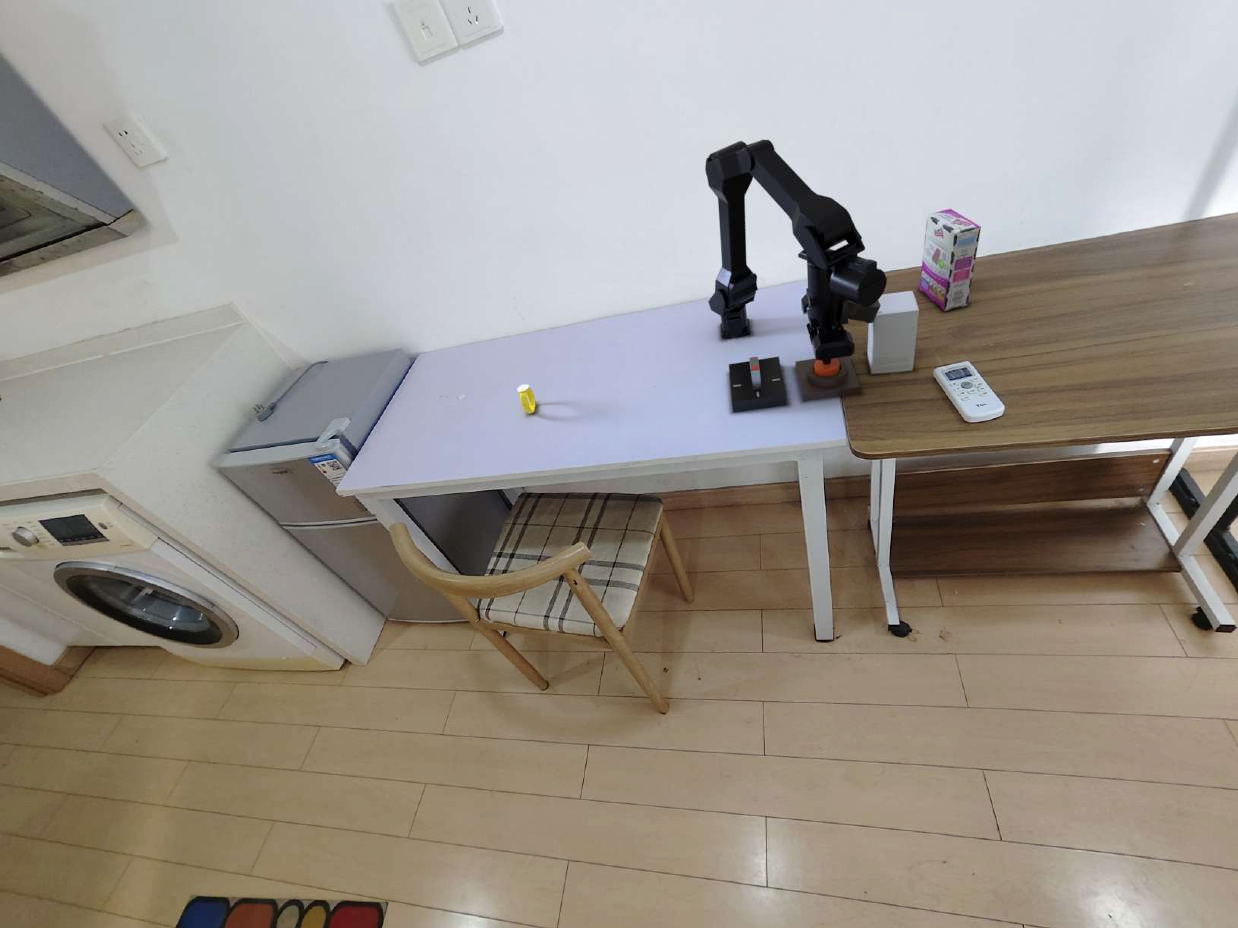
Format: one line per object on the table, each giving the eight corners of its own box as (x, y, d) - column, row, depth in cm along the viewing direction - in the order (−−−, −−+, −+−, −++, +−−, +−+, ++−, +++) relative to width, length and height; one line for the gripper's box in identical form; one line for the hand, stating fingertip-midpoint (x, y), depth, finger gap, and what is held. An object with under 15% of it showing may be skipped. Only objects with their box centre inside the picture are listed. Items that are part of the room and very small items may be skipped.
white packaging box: (913, 371, 107) (920, 310, 99) (870, 374, 109) (872, 315, 101) (908, 349, 112) (913, 289, 104) (866, 352, 114) (869, 294, 106)
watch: (536, 416, 127) (527, 394, 123) (524, 418, 127) (515, 397, 124) (539, 400, 131) (530, 379, 128) (528, 402, 132) (518, 381, 128)
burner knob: (751, 376, 114) (749, 356, 111) (759, 375, 113) (757, 355, 110) (753, 390, 110) (750, 370, 107) (761, 389, 110) (759, 369, 107)
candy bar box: (969, 306, 117) (983, 226, 106) (944, 312, 117) (955, 233, 107) (941, 283, 125) (951, 207, 115) (918, 289, 126) (925, 214, 115)
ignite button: (813, 367, 111) (812, 358, 110) (837, 364, 110) (837, 355, 109) (816, 381, 108) (816, 372, 106) (841, 377, 107) (841, 368, 105)
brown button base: (795, 368, 116) (794, 353, 114) (848, 360, 114) (848, 345, 112) (803, 401, 108) (802, 386, 106) (859, 393, 106) (860, 378, 104)
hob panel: (730, 374, 120) (728, 363, 119) (779, 366, 118) (778, 355, 116) (733, 412, 111) (731, 402, 109) (786, 405, 109) (786, 394, 107)
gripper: (890, 305, 89) (885, 386, 99) (864, 253, 102) (862, 329, 112) (814, 317, 91) (817, 396, 102) (799, 265, 105) (802, 339, 115)
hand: (826, 363), depth 107 cm, fingers closed, pressing on ignite button
